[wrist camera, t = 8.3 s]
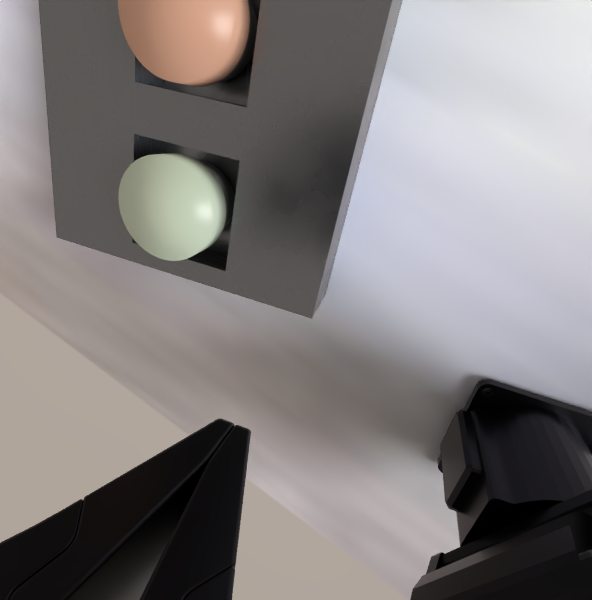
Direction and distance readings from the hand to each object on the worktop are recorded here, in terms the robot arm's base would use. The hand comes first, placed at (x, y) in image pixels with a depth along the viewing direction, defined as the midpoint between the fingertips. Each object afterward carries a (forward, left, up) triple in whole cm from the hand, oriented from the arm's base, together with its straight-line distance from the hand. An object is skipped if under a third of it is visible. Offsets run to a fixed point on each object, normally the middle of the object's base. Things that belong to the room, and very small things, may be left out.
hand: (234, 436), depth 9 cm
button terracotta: (+7, -9, -11) cm, 16 cm away
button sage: (+7, -2, -11) cm, 13 cm away
